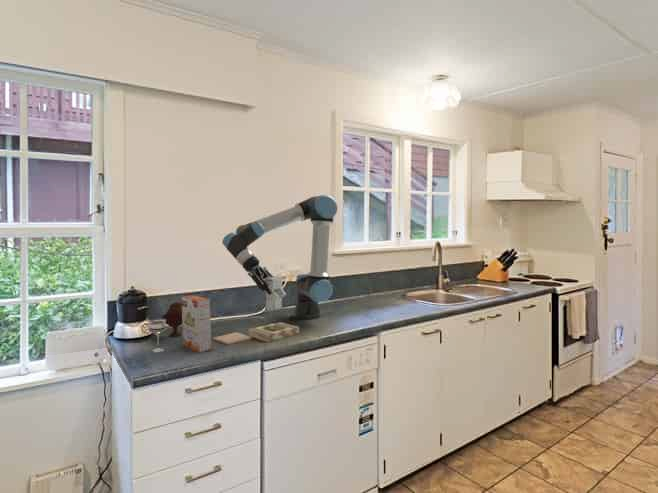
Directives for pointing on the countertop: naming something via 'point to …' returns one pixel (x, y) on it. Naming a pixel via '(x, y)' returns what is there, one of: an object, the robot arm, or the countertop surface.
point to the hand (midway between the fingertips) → (280, 297)
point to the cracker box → (196, 323)
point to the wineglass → (157, 330)
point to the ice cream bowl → (174, 318)
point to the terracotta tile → (232, 338)
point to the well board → (273, 331)
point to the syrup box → (277, 288)
